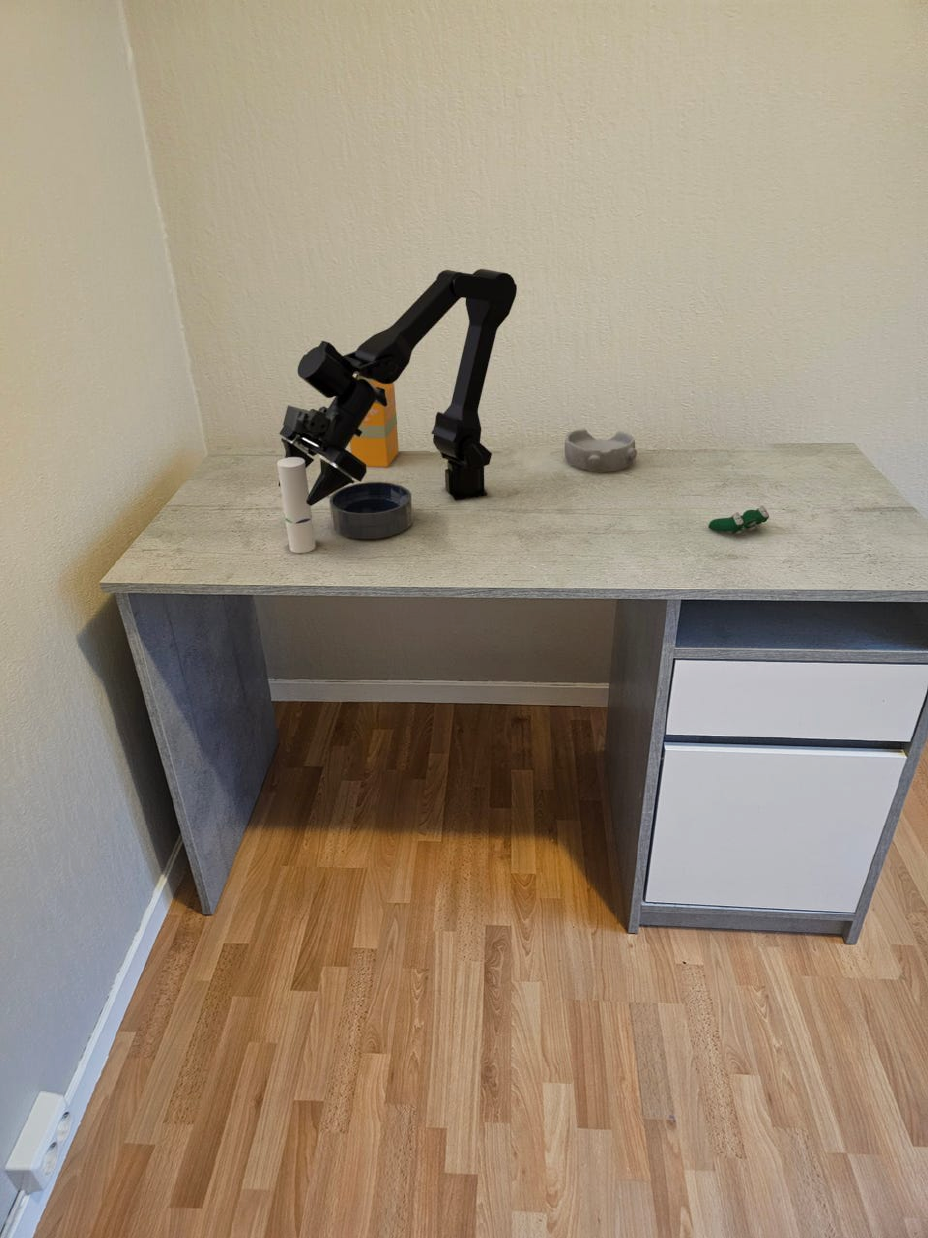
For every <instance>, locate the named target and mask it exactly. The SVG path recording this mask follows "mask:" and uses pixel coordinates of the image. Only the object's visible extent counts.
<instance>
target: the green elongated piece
mask: <svg viewBox="0 0 928 1238" xmlns="http://www.w3.org/2000/svg"><path fill="white" fill-rule="evenodd" d="M769 519H770V513H769V512H768V511H767V509H766V507H765V506H764V505H760V506H759V507H758V508H757V509H747V510H745V511H744V512H743V514H740V512H738V511H736V512H734V514H733V515H732V516H730V517H721V518H715V519H712V520H711V521H710V522H709V523H708V527H707V528H708V529H710V530H711V531H715V532H719V533H731V532H732V533H733V534H735V535H740V534H741V533H742V532H743V529H746V530H748V531H749V532H751V531H753V530H755V528H756V526H758V525H762V523H767V520H769Z"/></svg>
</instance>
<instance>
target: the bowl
mask: <svg viewBox="0 0 928 1238" xmlns="http://www.w3.org/2000/svg"><path fill="white" fill-rule="evenodd" d="M328 502H329V503H328V504H329V511H330V520H331V525H332V529H333V530H334V531H335V532H337V533H338V534H340V535H342V536H344V537H347V538H350V539H351V538H352V539H360V540H371V539H372V540H373V539H375V540H376V539H383V538H388V537H391V536H394V535H397V534H400V533H402V532H404V531H405V530H407V529H408V528H409V527H410V526H411V525H412V524H413V519H414V516H413V515H414V513H413V497H412V493H411V491H410V490H409V489H408V488H406V487H404V486H402V485H400V484H396V483H393V482H384V481H368V482H360V483H353V484H351V485H350V484H349V485H346V486H344V488H342V489H340V490H338V491H336V492H335V493H334V494H333V495H332V496H331V497H329V501H328Z"/></svg>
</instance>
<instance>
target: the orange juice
mask: <svg viewBox="0 0 928 1238" xmlns="http://www.w3.org/2000/svg"><path fill="white" fill-rule="evenodd" d="M354 377H355V378H356V379H357V380H358V379H365V380H366V381H368V382H369V383H370V384H371V385H372V386H373V387H380V388H383V389H385V397H386V399H387V406H386V407H384V406H382V405H379V404H377V403H374V404H373V406H372V408H371V409H370V411H369V412H368V414H367V416H366V417H365V419H364V420H363V422H362V423H361V425H360V427H359V428H358V429H359V430H361V431H362V434H361V435H360V437H358V436H356V435H354V436H353V438H352V439H351V441H350V442H349V446H350V453H351V454H353V455H354V456H356V457H357V458H358V459H360V460H361V461H362V462H364V463H365V464H366V467H376V468H377V467H378V468H388V467H389V466H390V464H391V463H392V462H393V460H394V459H395V458H396V456H397V455H398V454H399V452H400V451H399V450H400V449H399V435H398V418H397V407H396V406H397V405H396V391H395V383H392V384H382V383H379V382H376V381H374V380H371V379H368V378H365V377H362V376H360V375H357V374H355V376H354Z"/></svg>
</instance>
